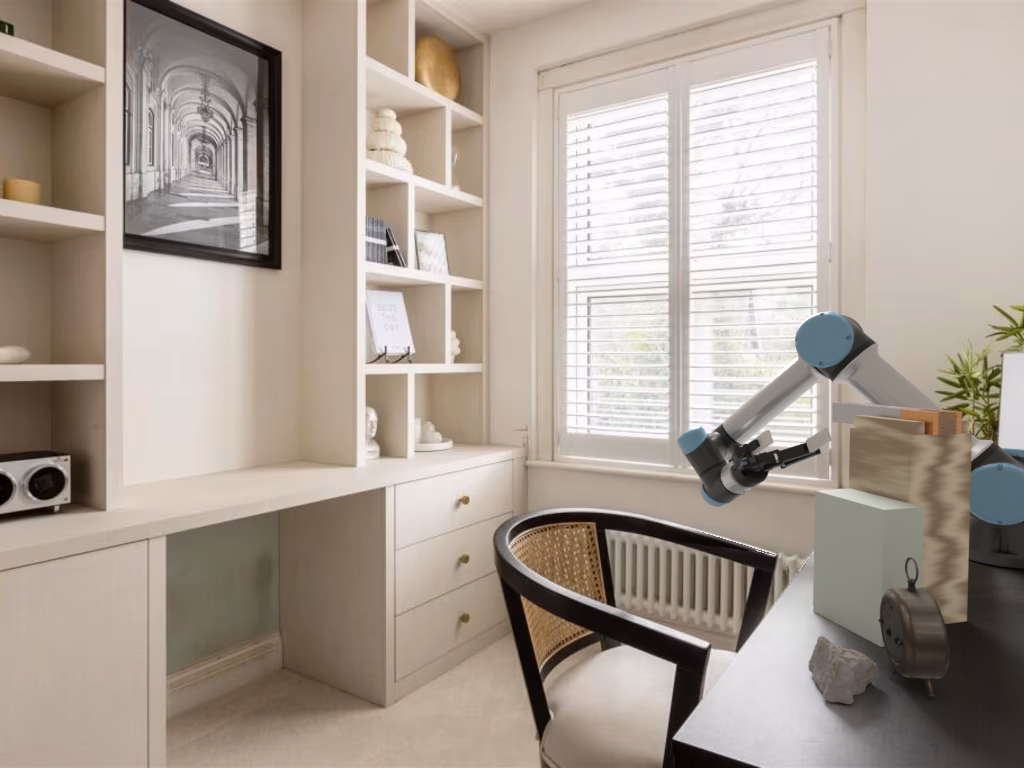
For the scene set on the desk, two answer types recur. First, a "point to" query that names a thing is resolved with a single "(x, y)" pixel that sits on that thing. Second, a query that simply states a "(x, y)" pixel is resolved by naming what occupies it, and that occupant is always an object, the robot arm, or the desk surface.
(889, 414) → the grey long bar
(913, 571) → the pale green block
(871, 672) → the stone
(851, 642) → the desk surface
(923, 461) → the stand
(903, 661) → the alarm clock
